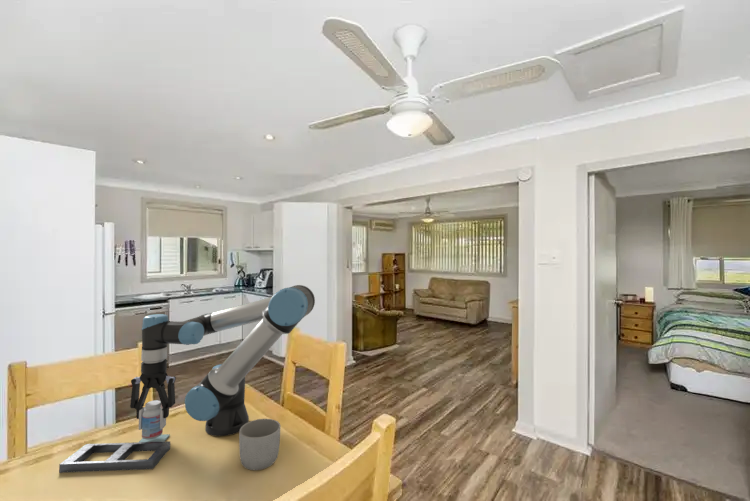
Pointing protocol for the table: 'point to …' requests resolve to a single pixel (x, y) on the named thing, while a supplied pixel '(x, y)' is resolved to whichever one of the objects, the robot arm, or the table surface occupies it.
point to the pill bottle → (151, 420)
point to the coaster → (159, 439)
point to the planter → (259, 443)
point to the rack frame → (114, 457)
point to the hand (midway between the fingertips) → (152, 427)
